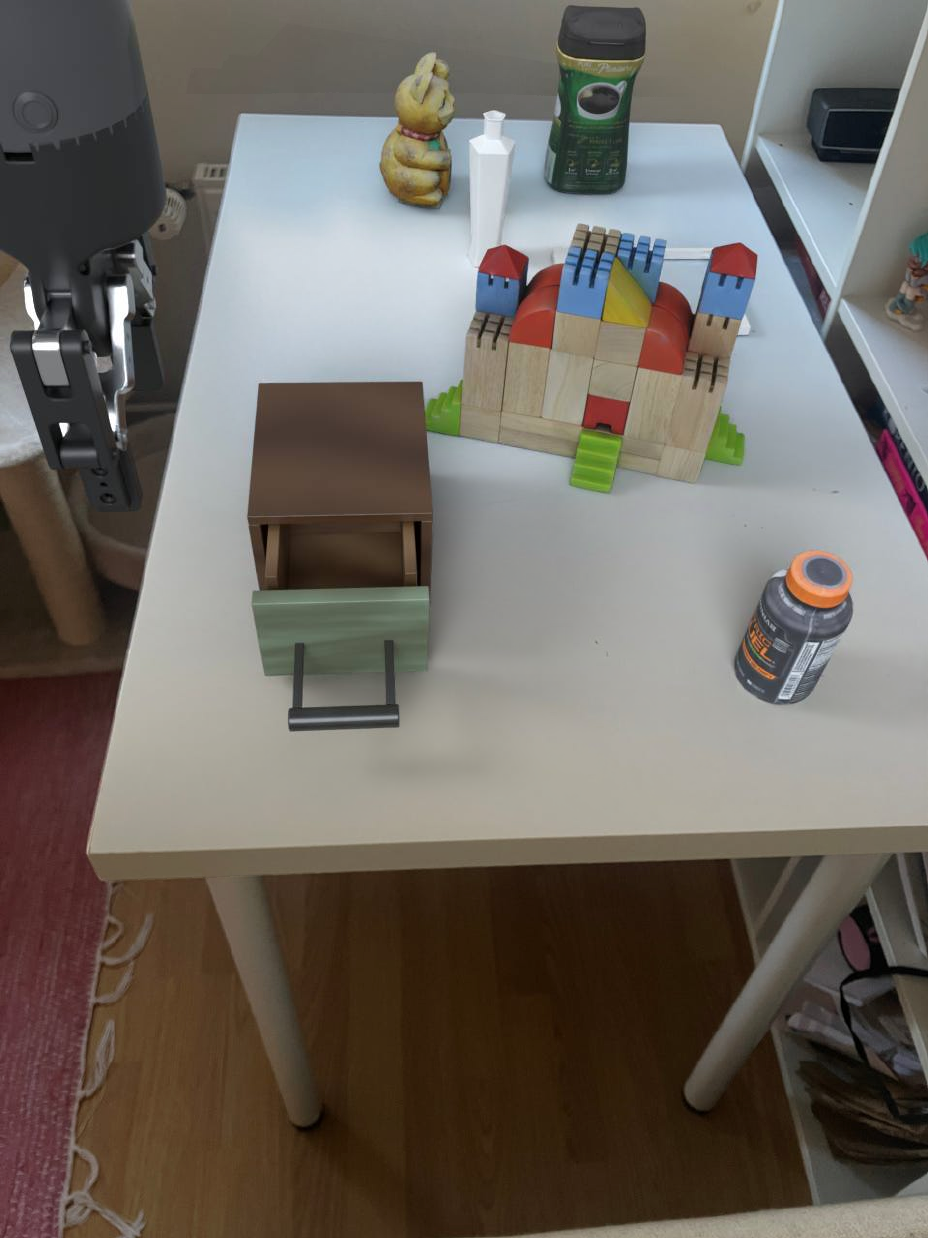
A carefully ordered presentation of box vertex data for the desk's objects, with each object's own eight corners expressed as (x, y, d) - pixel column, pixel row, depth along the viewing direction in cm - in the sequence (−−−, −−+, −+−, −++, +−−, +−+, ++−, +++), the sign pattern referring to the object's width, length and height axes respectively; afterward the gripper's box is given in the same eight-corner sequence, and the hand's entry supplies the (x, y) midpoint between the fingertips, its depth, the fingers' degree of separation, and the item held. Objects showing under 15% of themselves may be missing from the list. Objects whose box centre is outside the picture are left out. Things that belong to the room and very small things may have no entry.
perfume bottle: (513, 266, 107) (526, 122, 95) (475, 272, 106) (483, 128, 94) (498, 244, 109) (509, 102, 98) (460, 250, 108) (466, 106, 97)
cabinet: (430, 603, 76) (433, 513, 69) (262, 608, 75) (246, 516, 68) (421, 473, 85) (422, 380, 78) (271, 475, 84) (258, 382, 77)
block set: (409, 454, 87) (410, 250, 72) (449, 360, 96) (458, 160, 81) (735, 520, 84) (806, 319, 69) (745, 415, 92) (811, 218, 78)
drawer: (432, 752, 67) (435, 683, 61) (259, 759, 66) (244, 690, 60) (418, 534, 80) (419, 459, 74) (273, 537, 79) (262, 462, 73)
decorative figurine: (451, 220, 112) (456, 79, 101) (377, 216, 112) (374, 74, 100) (452, 177, 118) (457, 40, 107) (382, 174, 118) (380, 36, 106)
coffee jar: (619, 166, 122) (647, -5, 108) (627, 198, 117) (658, 25, 103) (539, 163, 122) (557, -8, 107) (544, 196, 117) (564, 21, 102)
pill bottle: (719, 649, 75) (761, 543, 66) (792, 636, 76) (842, 531, 67) (753, 714, 71) (801, 611, 62) (828, 700, 72) (886, 597, 63)
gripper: (-30, 3, 39) (75, 353, 52) (-141, 185, 30) (18, 555, 43) (167, 7, 40) (223, 352, 52) (115, 186, 31) (198, 551, 43)
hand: (131, 443), depth 47 cm, fingers open, 8 cm apart
